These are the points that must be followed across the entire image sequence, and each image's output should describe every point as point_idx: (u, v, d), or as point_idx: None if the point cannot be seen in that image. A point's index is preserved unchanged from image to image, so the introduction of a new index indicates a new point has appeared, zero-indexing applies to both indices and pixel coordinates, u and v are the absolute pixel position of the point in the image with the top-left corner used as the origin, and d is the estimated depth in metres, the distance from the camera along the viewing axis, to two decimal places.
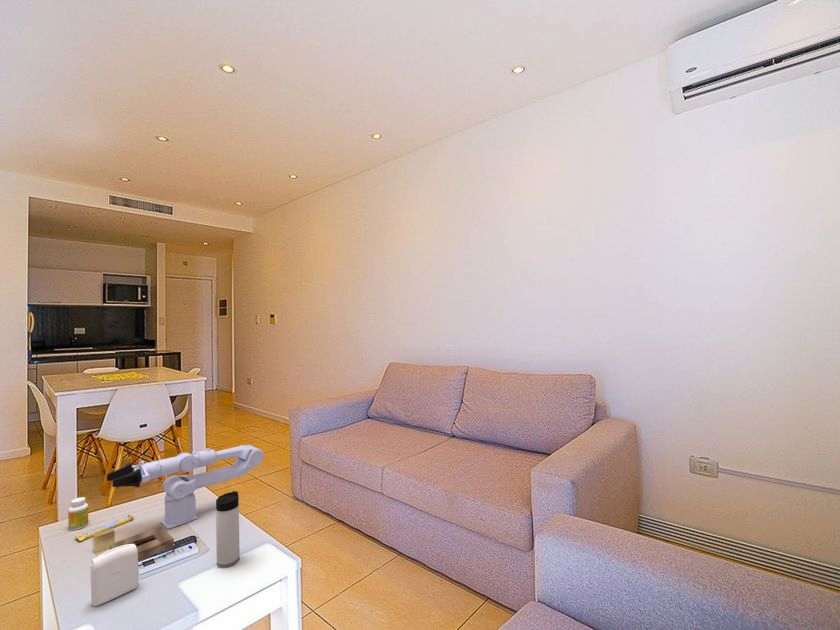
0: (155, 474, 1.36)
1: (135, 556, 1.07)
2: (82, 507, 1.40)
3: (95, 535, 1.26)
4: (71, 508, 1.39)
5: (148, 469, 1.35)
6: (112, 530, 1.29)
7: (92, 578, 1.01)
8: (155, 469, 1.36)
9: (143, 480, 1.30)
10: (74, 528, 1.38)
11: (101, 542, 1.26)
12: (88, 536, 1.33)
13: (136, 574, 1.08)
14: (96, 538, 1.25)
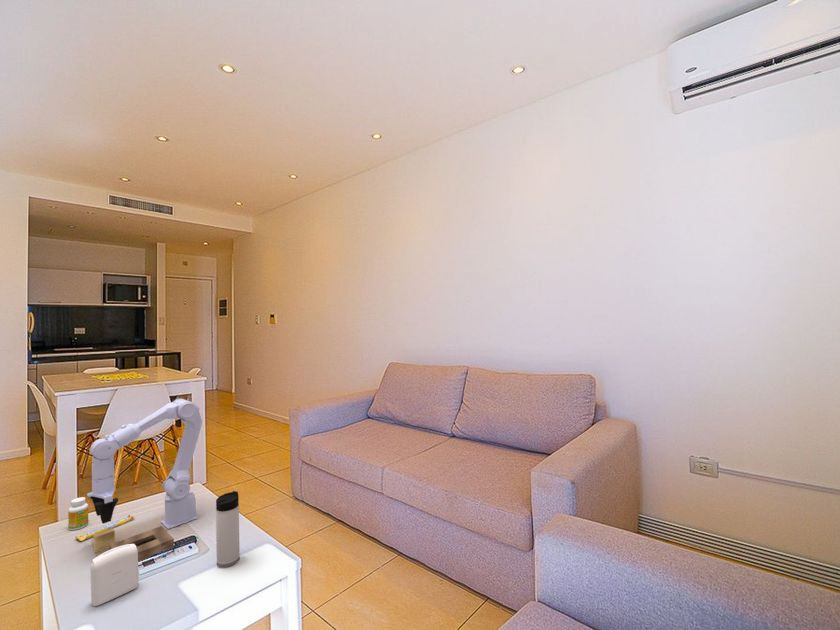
0: (108, 482, 1.26)
1: (135, 556, 1.07)
2: (82, 507, 1.40)
3: (95, 535, 1.26)
4: (71, 508, 1.39)
5: (100, 490, 1.25)
6: (112, 530, 1.29)
7: (92, 578, 1.01)
8: (102, 483, 1.25)
9: (110, 501, 1.23)
10: (74, 528, 1.38)
11: (101, 542, 1.26)
12: (89, 536, 1.33)
13: (136, 574, 1.08)
14: (96, 538, 1.25)
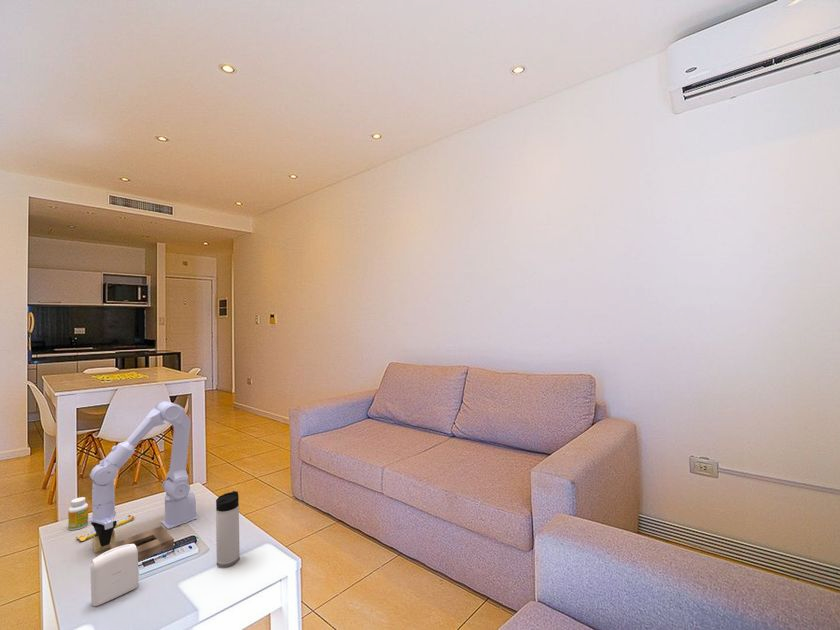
0: (109, 507, 1.26)
1: (135, 556, 1.07)
2: (82, 507, 1.40)
3: (95, 535, 1.26)
4: (71, 508, 1.39)
5: (100, 516, 1.25)
6: None
7: (92, 578, 1.01)
8: (102, 509, 1.25)
9: (110, 527, 1.23)
10: (74, 528, 1.38)
11: None
12: (89, 536, 1.33)
13: (136, 574, 1.08)
14: (96, 538, 1.25)
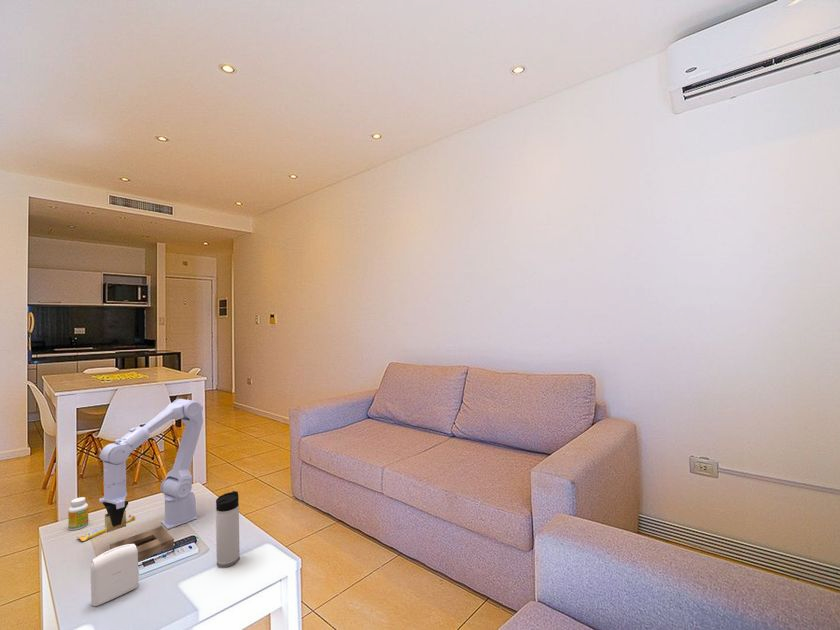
0: (120, 487, 1.25)
1: (135, 556, 1.08)
2: (82, 507, 1.40)
3: (106, 515, 1.25)
4: (71, 508, 1.39)
5: (112, 495, 1.24)
6: None
7: (92, 578, 1.01)
8: (114, 489, 1.24)
9: (122, 506, 1.22)
10: (74, 528, 1.38)
11: None
12: (90, 536, 1.33)
13: (136, 574, 1.08)
14: (107, 518, 1.24)
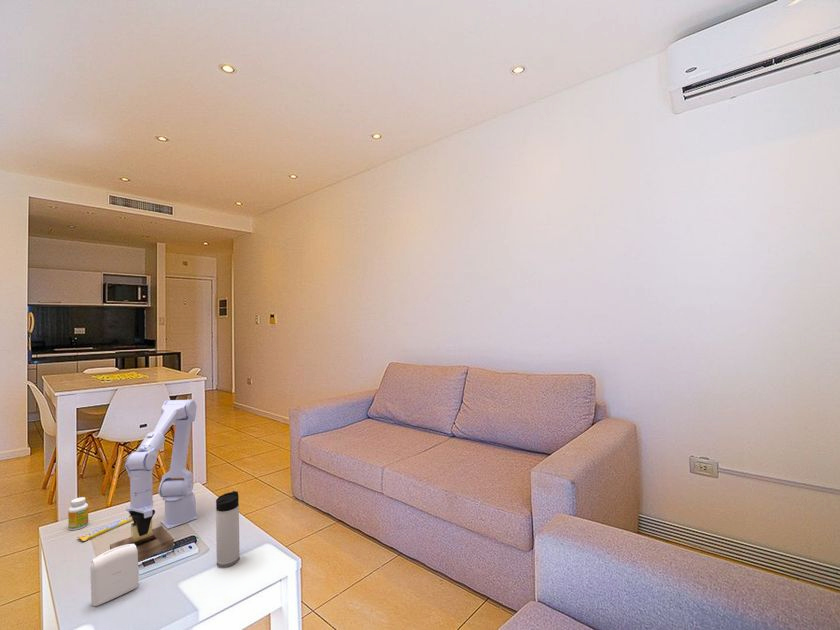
0: (147, 495, 1.22)
1: (135, 556, 1.07)
2: (82, 507, 1.40)
3: (133, 524, 1.22)
4: (71, 508, 1.39)
5: (139, 504, 1.21)
6: None
7: (92, 578, 1.01)
8: (141, 497, 1.21)
9: (150, 515, 1.19)
10: (74, 528, 1.38)
11: None
12: (91, 536, 1.33)
13: (136, 574, 1.08)
14: (134, 527, 1.21)
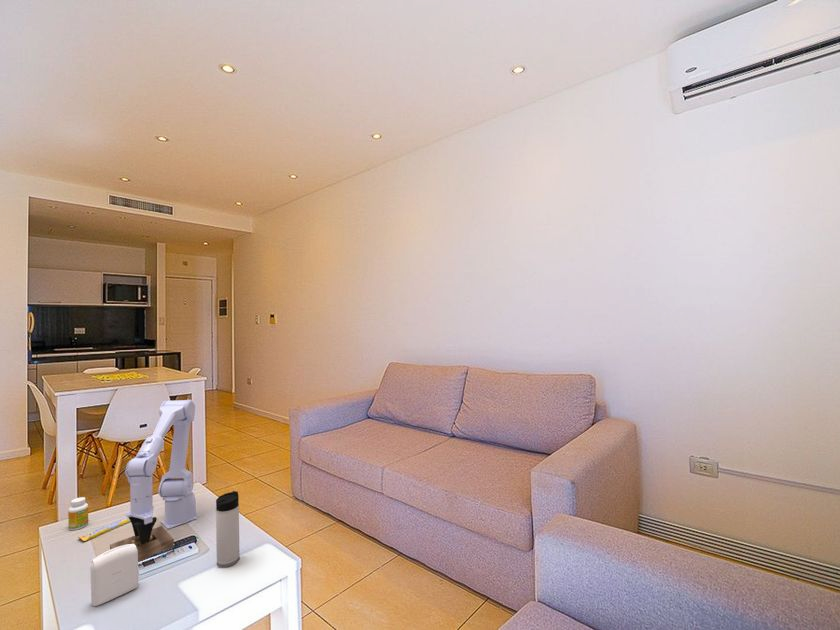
0: (147, 501, 1.22)
1: (135, 556, 1.07)
2: (82, 507, 1.40)
3: (133, 541, 1.22)
4: (71, 508, 1.39)
5: (139, 510, 1.21)
6: None
7: (92, 578, 1.01)
8: (141, 503, 1.21)
9: (150, 521, 1.19)
10: (74, 528, 1.38)
11: None
12: (92, 536, 1.33)
13: (136, 574, 1.08)
14: None
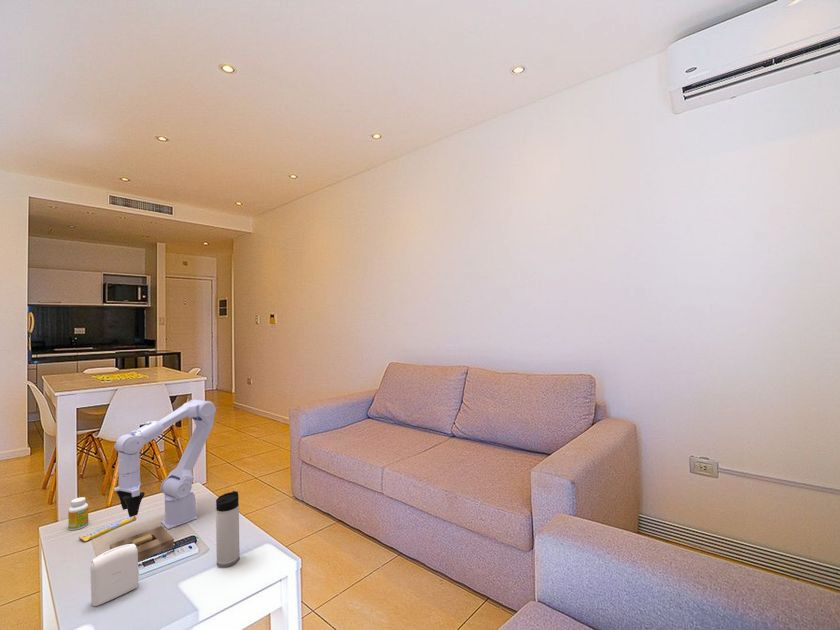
0: (135, 476, 1.29)
1: (135, 556, 1.07)
2: (82, 507, 1.40)
3: (133, 541, 1.22)
4: (71, 508, 1.39)
5: (127, 484, 1.28)
6: (150, 536, 1.25)
7: (92, 578, 1.01)
8: (129, 478, 1.28)
9: (137, 495, 1.26)
10: (74, 528, 1.38)
11: None
12: (92, 536, 1.33)
13: (136, 574, 1.08)
14: None
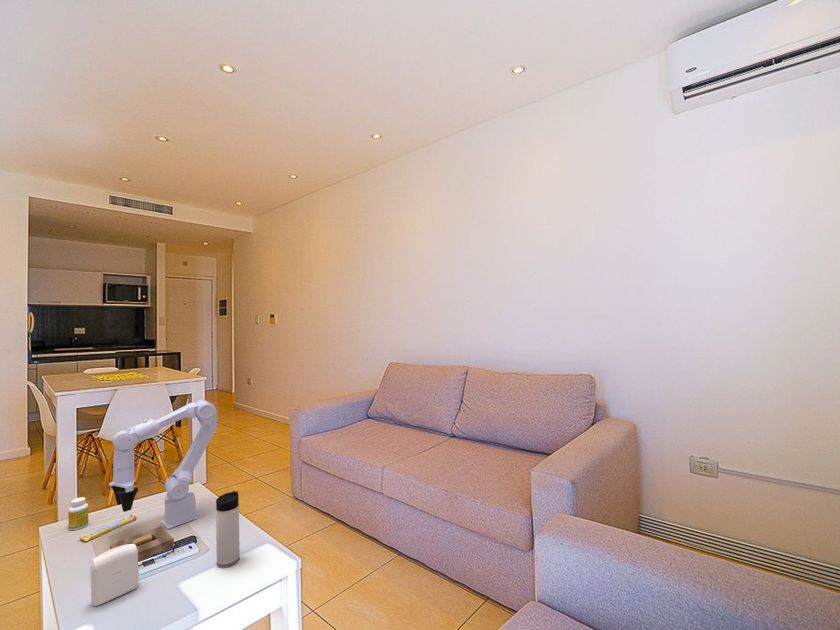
0: (129, 472, 1.32)
1: (135, 556, 1.07)
2: (82, 507, 1.40)
3: (133, 541, 1.22)
4: (71, 508, 1.39)
5: (121, 480, 1.31)
6: (150, 536, 1.25)
7: (92, 578, 1.01)
8: (123, 474, 1.31)
9: (131, 490, 1.29)
10: (74, 528, 1.38)
11: None
12: (93, 536, 1.33)
13: (136, 574, 1.08)
14: None
